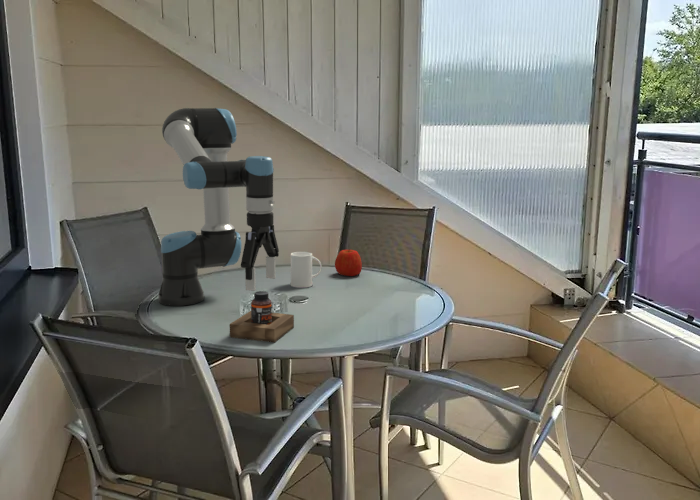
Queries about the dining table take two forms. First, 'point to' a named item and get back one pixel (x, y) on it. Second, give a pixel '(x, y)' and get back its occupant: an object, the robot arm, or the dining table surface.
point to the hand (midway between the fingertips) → (261, 284)
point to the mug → (302, 269)
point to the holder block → (262, 328)
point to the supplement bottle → (261, 308)
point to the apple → (348, 263)
